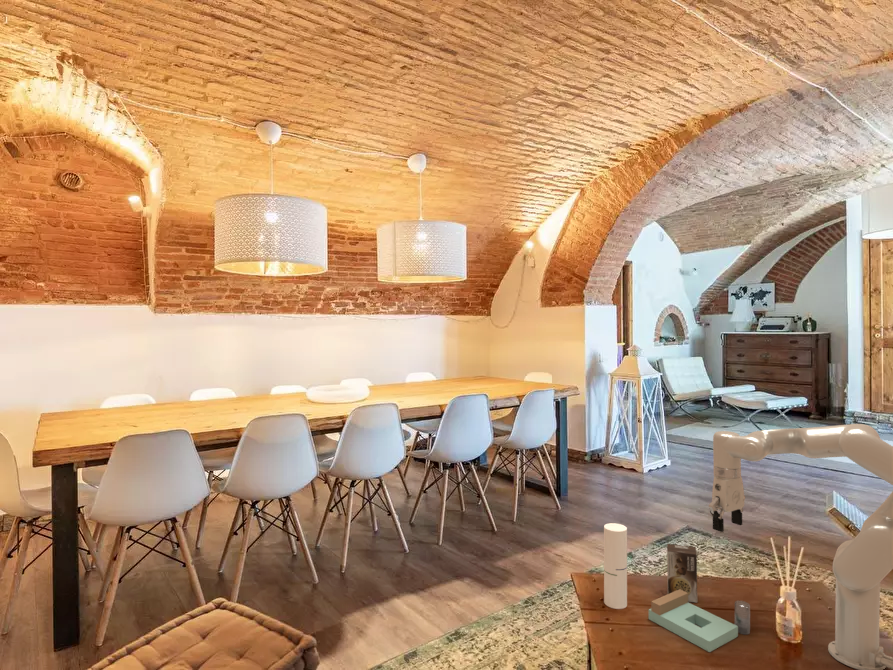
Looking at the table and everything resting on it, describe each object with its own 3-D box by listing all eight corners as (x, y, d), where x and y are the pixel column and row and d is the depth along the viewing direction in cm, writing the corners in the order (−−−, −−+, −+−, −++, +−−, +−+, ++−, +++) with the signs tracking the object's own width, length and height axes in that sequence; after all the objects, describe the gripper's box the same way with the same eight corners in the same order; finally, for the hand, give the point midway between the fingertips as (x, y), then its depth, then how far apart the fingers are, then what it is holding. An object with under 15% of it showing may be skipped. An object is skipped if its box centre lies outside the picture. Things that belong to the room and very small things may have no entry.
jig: (737, 636, 158) (738, 616, 158) (709, 652, 150) (709, 631, 150) (676, 606, 175) (676, 587, 175) (648, 619, 167) (648, 599, 167)
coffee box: (696, 594, 182) (696, 546, 182) (697, 603, 176) (697, 554, 176) (667, 589, 186) (667, 542, 185) (667, 598, 180) (667, 550, 179)
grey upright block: (752, 631, 160) (752, 605, 160) (745, 636, 158) (745, 608, 158) (739, 625, 164) (739, 599, 163) (731, 629, 161) (731, 603, 161)
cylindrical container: (630, 608, 173) (629, 531, 173) (607, 608, 174) (607, 531, 173) (623, 597, 181) (623, 523, 180) (601, 597, 181) (601, 523, 180)
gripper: (721, 479, 160) (722, 537, 160) (755, 470, 169) (755, 525, 169) (698, 473, 166) (699, 529, 166) (731, 465, 175) (732, 518, 175)
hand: (727, 527), depth 168 cm, fingers open, 9 cm apart
